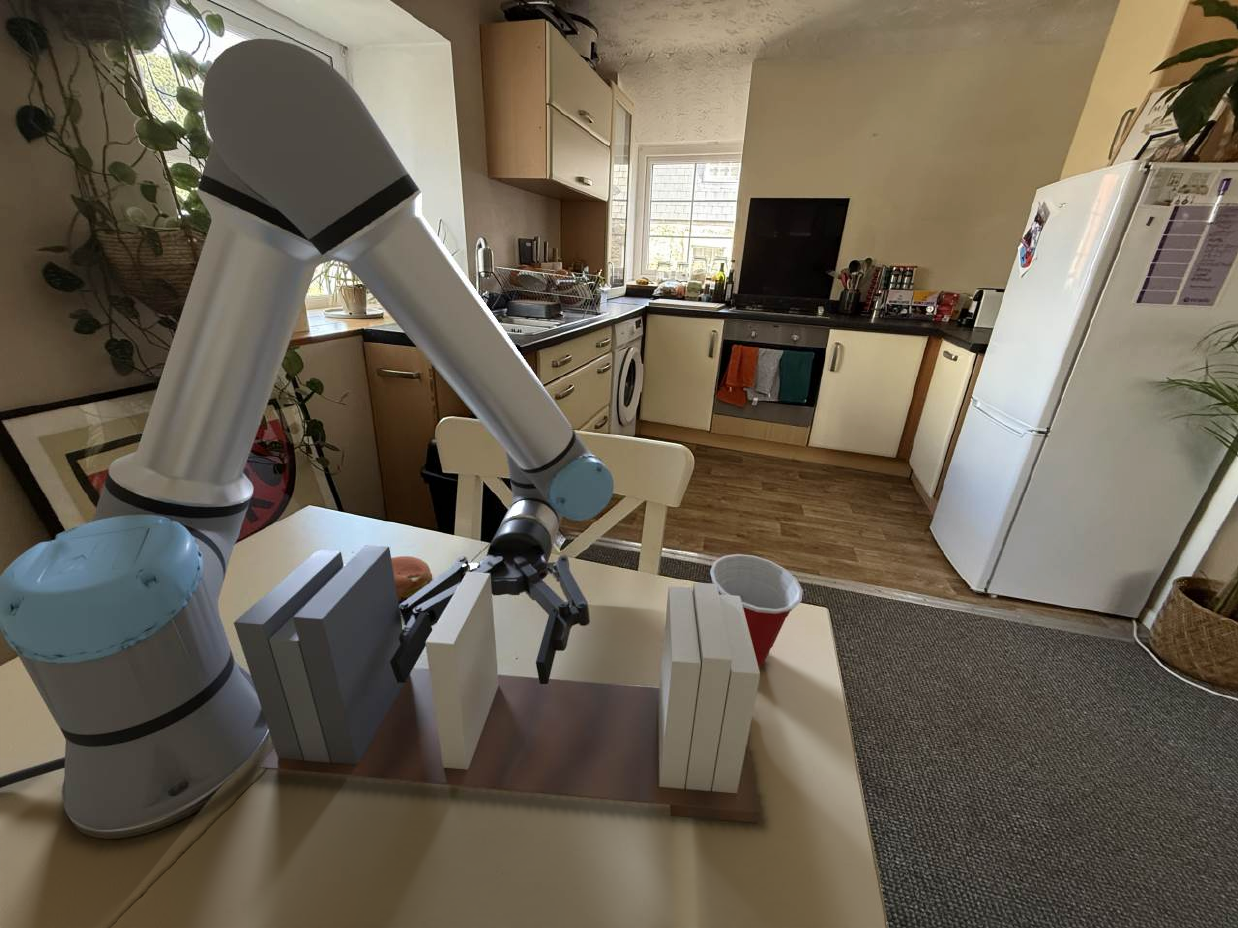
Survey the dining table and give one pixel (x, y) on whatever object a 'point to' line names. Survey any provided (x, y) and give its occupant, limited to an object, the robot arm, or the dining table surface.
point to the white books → (705, 690)
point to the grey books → (326, 654)
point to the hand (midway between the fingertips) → (468, 673)
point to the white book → (463, 668)
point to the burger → (410, 576)
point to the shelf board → (541, 747)
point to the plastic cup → (758, 595)
